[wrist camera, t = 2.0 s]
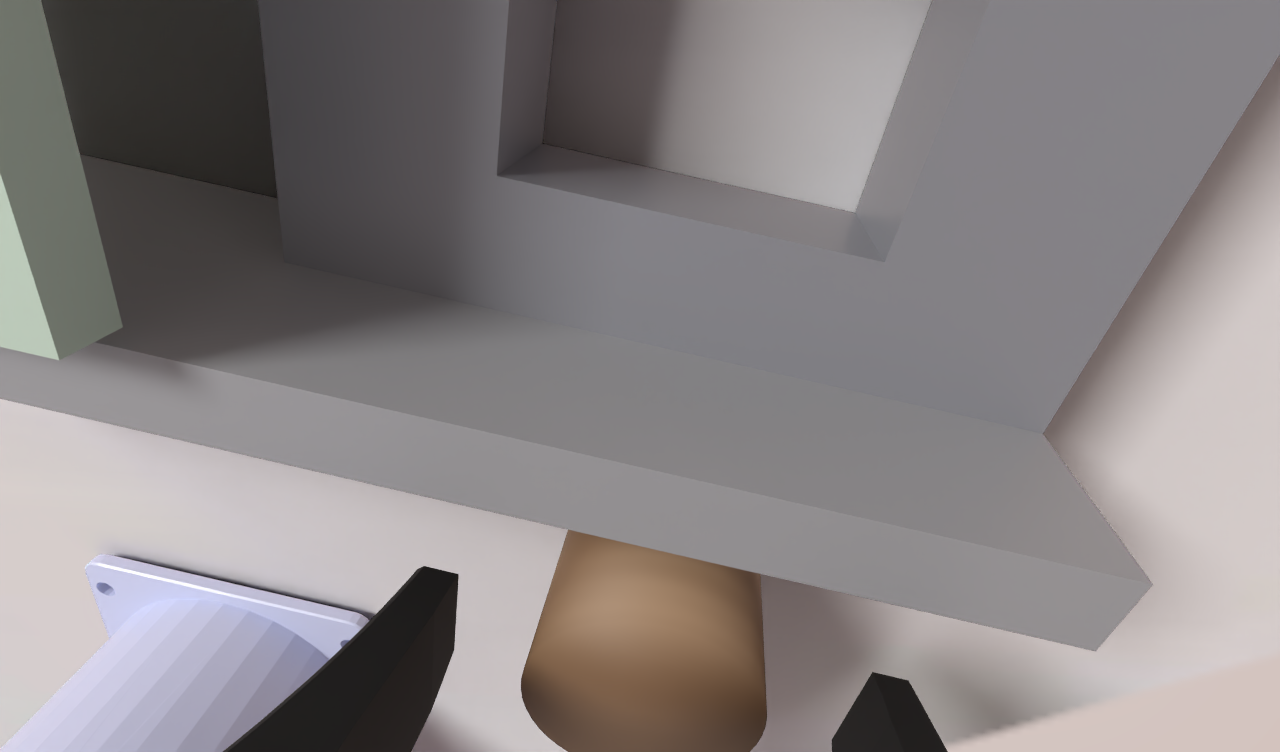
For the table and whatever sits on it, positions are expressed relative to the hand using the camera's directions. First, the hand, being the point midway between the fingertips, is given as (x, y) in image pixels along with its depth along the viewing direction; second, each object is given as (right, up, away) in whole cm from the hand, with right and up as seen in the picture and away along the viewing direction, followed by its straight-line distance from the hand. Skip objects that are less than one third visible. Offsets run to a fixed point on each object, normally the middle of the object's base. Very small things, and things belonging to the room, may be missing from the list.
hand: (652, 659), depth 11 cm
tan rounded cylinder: (0, +2, +4) cm, 4 cm away
